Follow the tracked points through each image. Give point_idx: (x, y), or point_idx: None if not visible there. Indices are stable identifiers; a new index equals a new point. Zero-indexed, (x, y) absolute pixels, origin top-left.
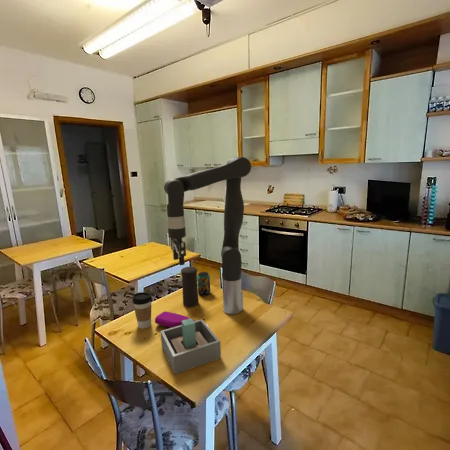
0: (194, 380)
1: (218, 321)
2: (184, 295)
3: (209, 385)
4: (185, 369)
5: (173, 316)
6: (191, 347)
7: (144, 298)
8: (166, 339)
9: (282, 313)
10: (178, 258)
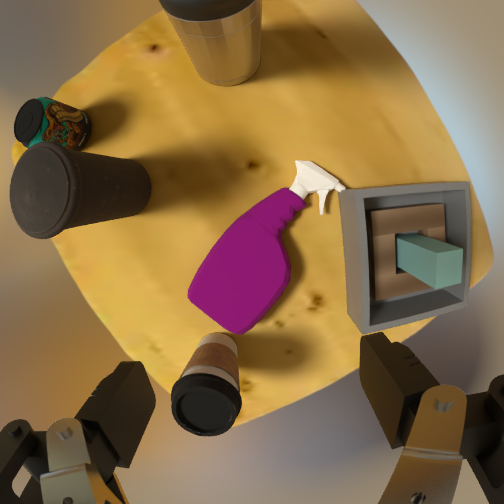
0: None
1: (284, 120)
2: (120, 215)
3: (485, 232)
4: None
5: (236, 273)
6: None
7: (231, 407)
8: (409, 319)
9: None
10: (137, 364)
